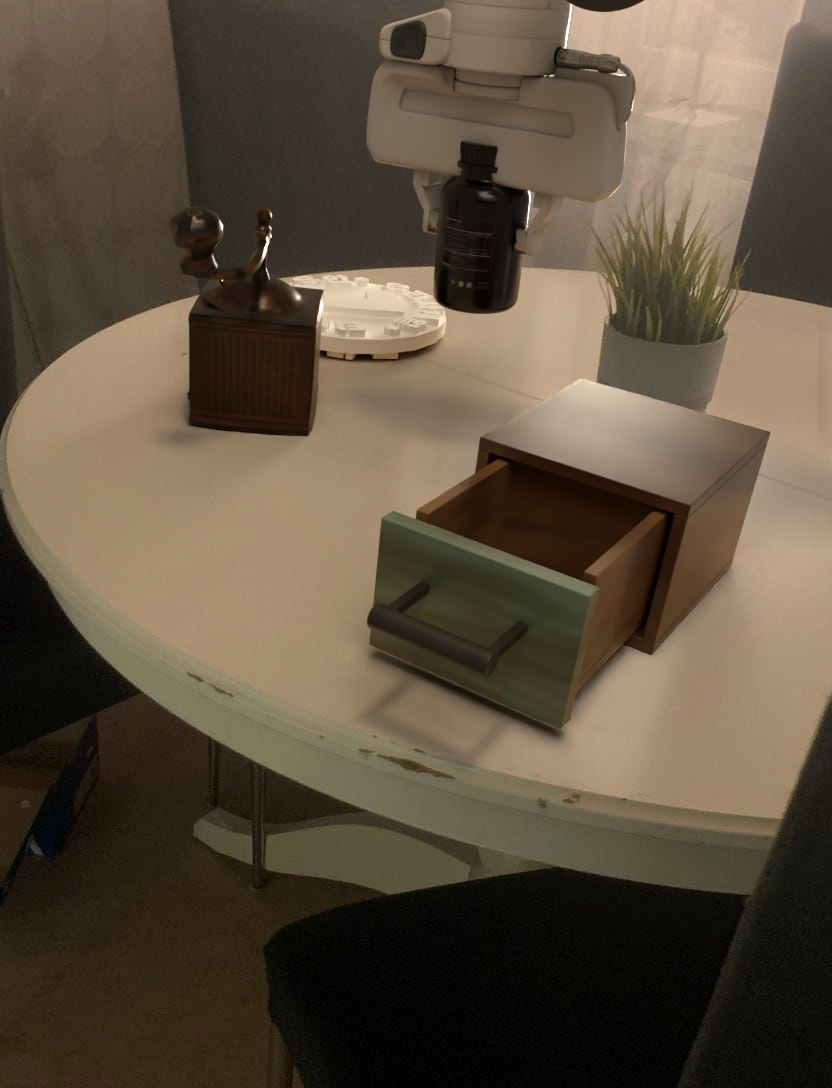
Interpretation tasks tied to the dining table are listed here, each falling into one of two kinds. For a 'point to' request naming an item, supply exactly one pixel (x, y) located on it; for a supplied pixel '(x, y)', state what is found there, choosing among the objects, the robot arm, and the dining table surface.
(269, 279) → the coffee grinder
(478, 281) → the supplement bottle
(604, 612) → the drawer
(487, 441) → the cabinet
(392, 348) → the white wall clock
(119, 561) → the dining table surface
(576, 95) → the robot arm
